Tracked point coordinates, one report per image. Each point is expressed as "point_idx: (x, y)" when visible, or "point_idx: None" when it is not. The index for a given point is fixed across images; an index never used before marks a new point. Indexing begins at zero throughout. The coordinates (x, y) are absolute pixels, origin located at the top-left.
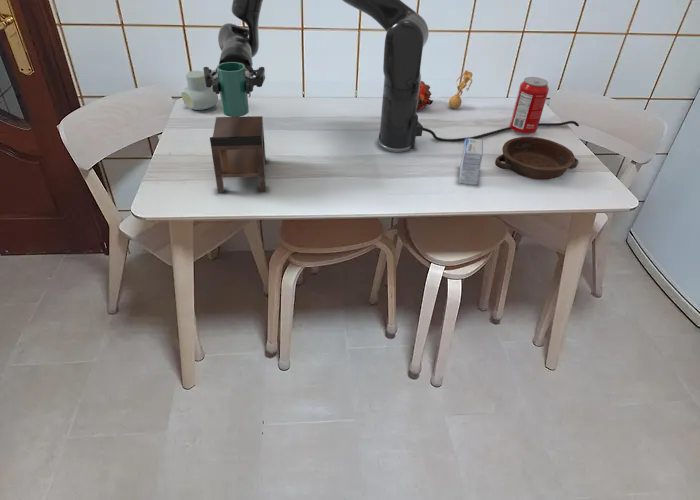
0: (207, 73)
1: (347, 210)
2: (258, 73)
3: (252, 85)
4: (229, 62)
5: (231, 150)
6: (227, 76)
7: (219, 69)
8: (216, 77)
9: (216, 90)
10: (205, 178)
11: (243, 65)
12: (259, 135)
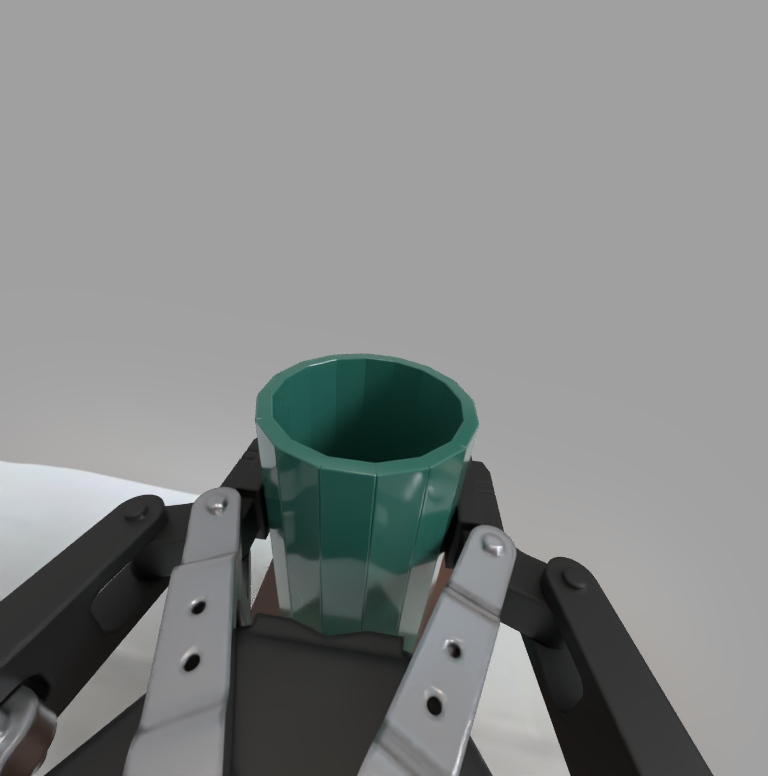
0: (600, 638)
1: (169, 494)
2: (99, 551)
3: (255, 443)
4: (372, 464)
5: None
6: (397, 384)
7: (449, 381)
8: (481, 528)
9: None
10: (476, 745)
11: (265, 400)
12: (275, 578)
